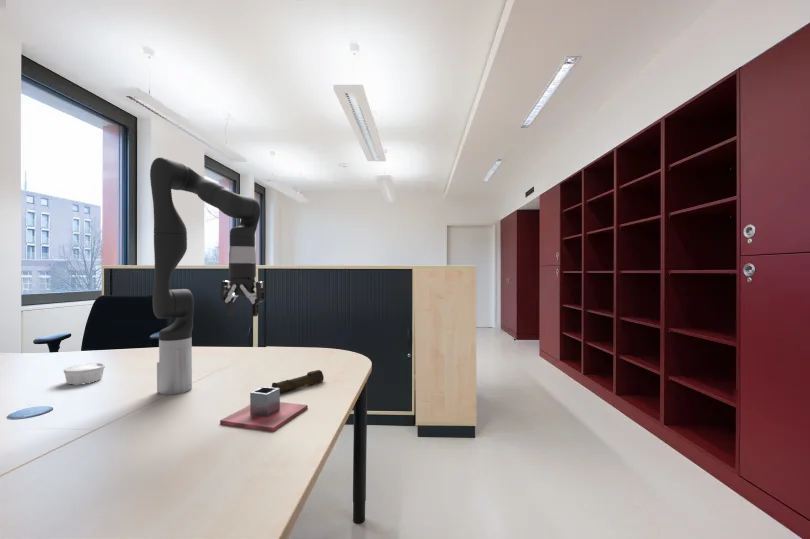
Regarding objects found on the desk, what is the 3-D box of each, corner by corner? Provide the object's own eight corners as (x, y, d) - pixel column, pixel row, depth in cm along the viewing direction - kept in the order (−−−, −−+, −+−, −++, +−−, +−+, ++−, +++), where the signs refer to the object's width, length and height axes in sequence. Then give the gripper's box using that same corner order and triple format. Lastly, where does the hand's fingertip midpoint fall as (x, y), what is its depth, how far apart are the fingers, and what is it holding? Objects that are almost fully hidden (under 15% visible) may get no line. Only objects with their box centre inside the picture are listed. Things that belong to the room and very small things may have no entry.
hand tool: (276, 396, 121) (276, 382, 121) (270, 393, 124) (270, 379, 124) (327, 383, 135) (327, 370, 135) (321, 381, 137) (321, 368, 137)
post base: (220, 424, 100) (219, 403, 99) (260, 403, 115) (259, 384, 115) (273, 431, 95) (273, 409, 95) (307, 408, 110) (307, 389, 110)
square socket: (250, 414, 103) (250, 392, 103) (263, 407, 108) (263, 386, 108) (267, 417, 102) (267, 394, 102) (279, 409, 107) (279, 388, 107)
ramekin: (110, 380, 139) (110, 365, 139) (70, 388, 129) (70, 372, 129) (97, 375, 145) (97, 361, 145) (58, 383, 135) (58, 368, 135)
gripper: (213, 261, 115) (213, 316, 115) (254, 261, 110) (254, 318, 111) (231, 262, 122) (232, 313, 122) (270, 262, 118) (270, 315, 118)
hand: (242, 315), depth 116 cm, fingers open, 8 cm apart
